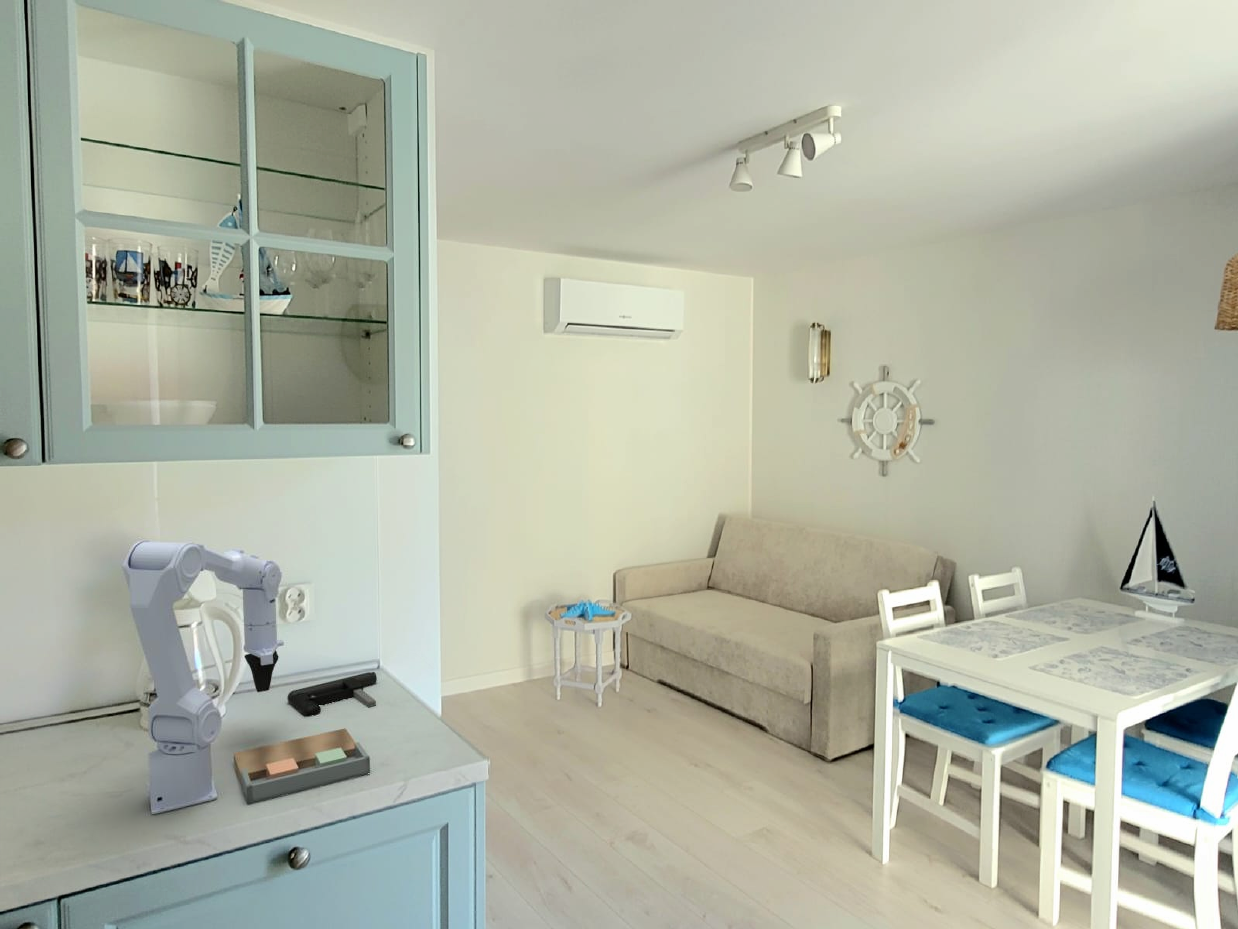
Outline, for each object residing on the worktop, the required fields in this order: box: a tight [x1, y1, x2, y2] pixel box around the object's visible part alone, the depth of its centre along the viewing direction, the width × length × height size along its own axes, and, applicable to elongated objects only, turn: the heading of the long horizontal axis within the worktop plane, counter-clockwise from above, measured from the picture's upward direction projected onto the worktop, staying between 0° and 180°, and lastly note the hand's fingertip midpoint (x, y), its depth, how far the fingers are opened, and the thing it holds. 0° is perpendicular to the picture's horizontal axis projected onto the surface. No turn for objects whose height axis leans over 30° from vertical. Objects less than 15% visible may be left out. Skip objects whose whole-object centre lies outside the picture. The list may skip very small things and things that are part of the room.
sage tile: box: [315, 748, 347, 768], centre depth 141 cm, size 4×4×2 cm
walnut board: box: [233, 727, 356, 784], centre depth 145 cm, size 20×10×2 cm, turn 123°
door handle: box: [286, 671, 378, 717], centre depth 174 cm, size 3×20×16 cm
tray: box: [240, 742, 371, 805], centre depth 138 cm, size 20×7×3 cm, turn 123°
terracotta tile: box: [266, 758, 299, 780], centre depth 137 cm, size 4×4×2 cm
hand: (262, 690), depth 152 cm, fingers closed
